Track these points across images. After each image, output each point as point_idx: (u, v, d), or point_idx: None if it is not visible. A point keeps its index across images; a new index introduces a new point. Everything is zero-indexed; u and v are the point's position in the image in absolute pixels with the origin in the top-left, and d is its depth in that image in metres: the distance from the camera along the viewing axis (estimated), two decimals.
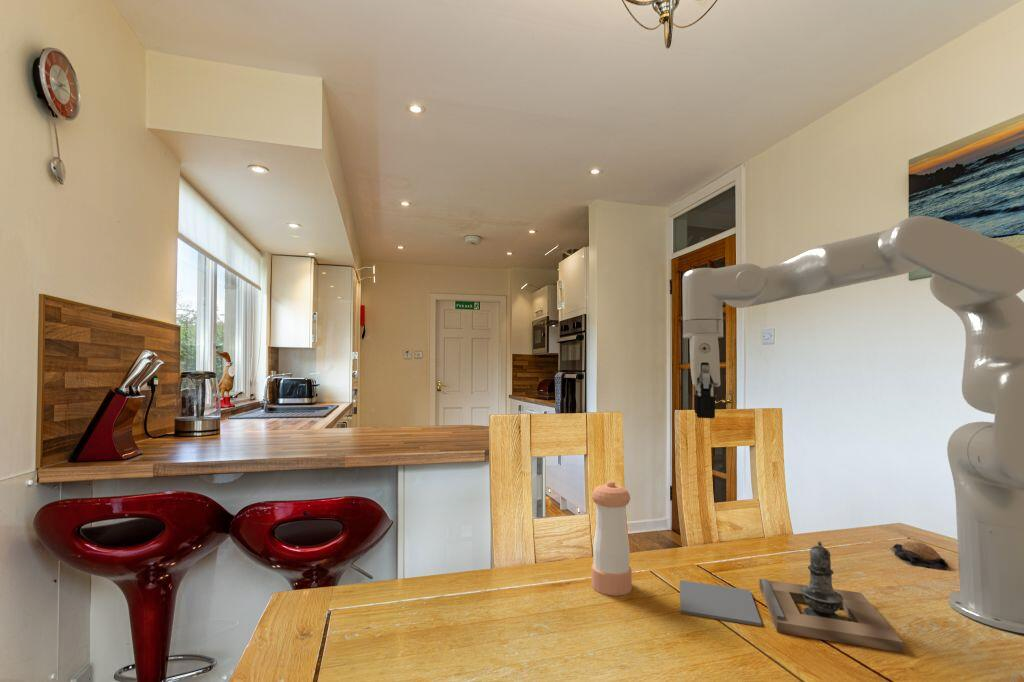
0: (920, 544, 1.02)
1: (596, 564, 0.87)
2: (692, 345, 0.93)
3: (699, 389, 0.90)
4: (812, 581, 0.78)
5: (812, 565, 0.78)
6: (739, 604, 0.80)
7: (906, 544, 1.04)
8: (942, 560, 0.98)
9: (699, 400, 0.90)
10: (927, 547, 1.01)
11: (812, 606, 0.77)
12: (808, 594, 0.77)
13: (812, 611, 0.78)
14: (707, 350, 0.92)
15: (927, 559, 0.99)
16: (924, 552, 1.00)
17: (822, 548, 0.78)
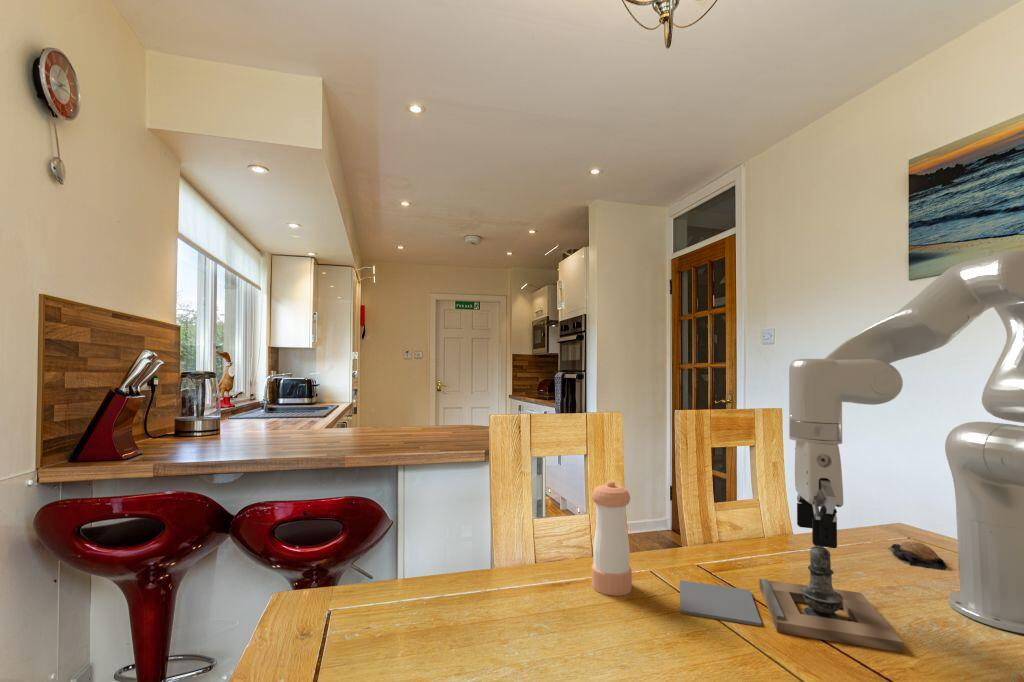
0: (918, 544, 1.02)
1: (596, 564, 0.87)
2: (806, 454, 0.77)
3: (817, 511, 0.74)
4: (812, 581, 0.78)
5: (812, 565, 0.78)
6: (739, 604, 0.80)
7: (904, 544, 1.04)
8: (940, 560, 0.98)
9: (816, 524, 0.74)
10: (925, 547, 1.01)
11: (812, 606, 0.77)
12: (808, 594, 0.77)
13: (812, 611, 0.78)
14: (826, 462, 0.76)
15: (925, 559, 0.99)
16: (922, 552, 1.00)
17: (822, 548, 0.78)
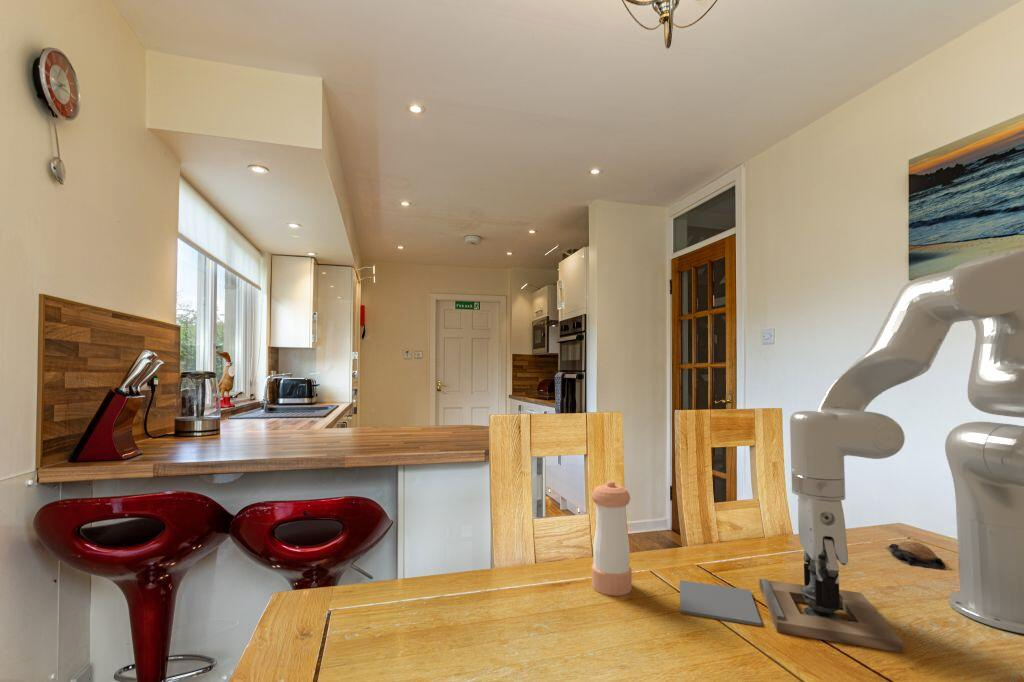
0: (916, 544, 1.02)
1: (596, 564, 0.87)
2: (809, 510, 0.76)
3: (820, 574, 0.75)
4: (812, 581, 0.78)
5: (812, 565, 0.78)
6: (739, 604, 0.80)
7: (902, 544, 1.04)
8: (939, 560, 0.98)
9: (819, 585, 0.75)
10: (923, 547, 1.01)
11: (812, 606, 0.77)
12: (807, 594, 0.77)
13: (812, 610, 0.78)
14: (829, 519, 0.75)
15: (924, 559, 0.99)
16: (921, 551, 1.00)
17: None
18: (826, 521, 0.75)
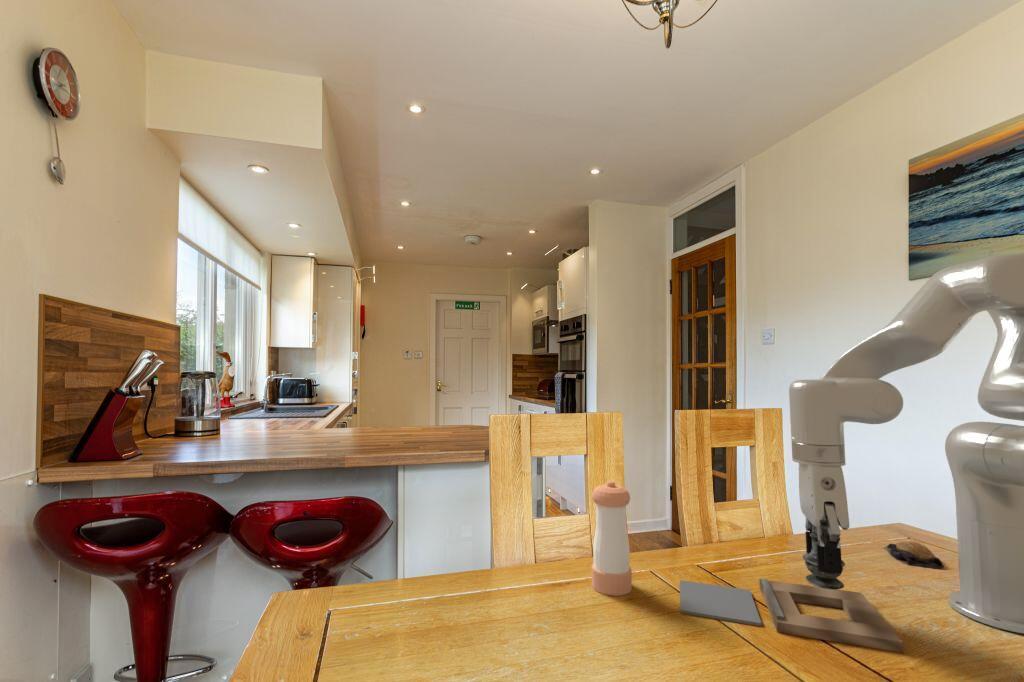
0: (914, 543, 1.03)
1: (596, 564, 0.87)
2: (810, 476, 0.76)
3: (822, 539, 0.75)
4: (814, 548, 0.78)
5: (813, 532, 0.79)
6: (739, 604, 0.80)
7: (901, 544, 1.04)
8: (937, 559, 0.98)
9: (821, 550, 0.75)
10: (921, 546, 1.01)
11: (814, 572, 0.77)
12: (810, 560, 0.78)
13: (814, 577, 0.79)
14: (830, 484, 0.75)
15: (923, 559, 0.99)
16: (919, 551, 1.00)
17: None
18: (827, 487, 0.76)
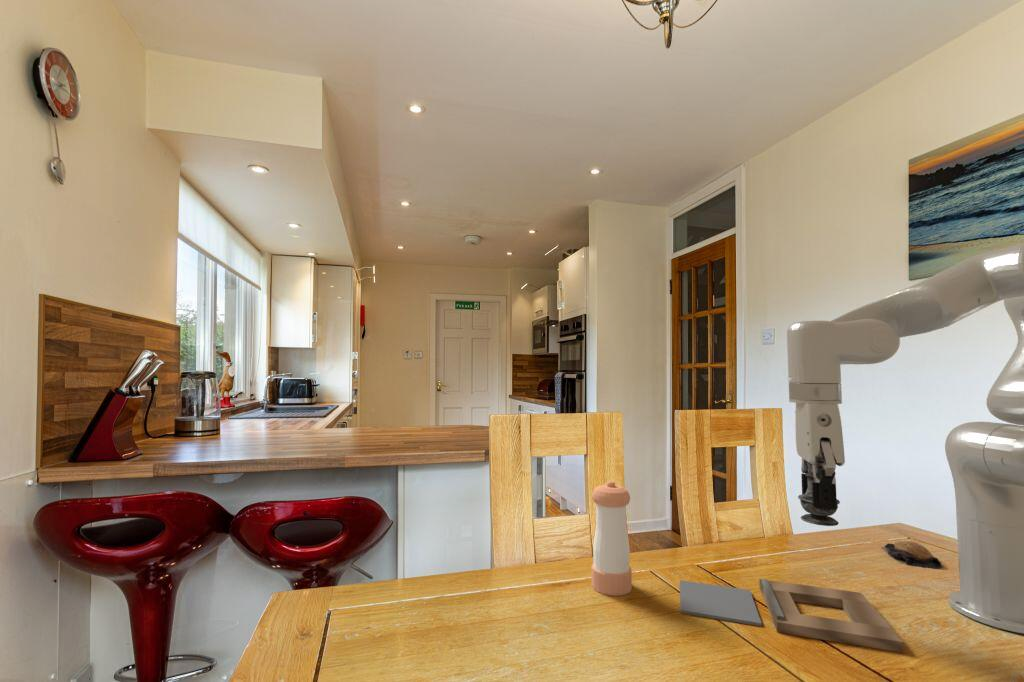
0: (912, 543, 1.03)
1: (596, 564, 0.87)
2: (806, 414, 0.77)
3: (817, 475, 0.75)
4: (809, 487, 0.79)
5: (809, 471, 0.79)
6: (739, 604, 0.80)
7: (899, 543, 1.04)
8: (936, 559, 0.98)
9: (816, 487, 0.76)
10: (920, 546, 1.02)
11: (809, 510, 0.78)
12: (805, 499, 0.78)
13: (809, 516, 0.79)
14: (826, 421, 0.76)
15: (921, 558, 0.99)
16: (918, 551, 1.00)
17: None
18: (823, 424, 0.76)
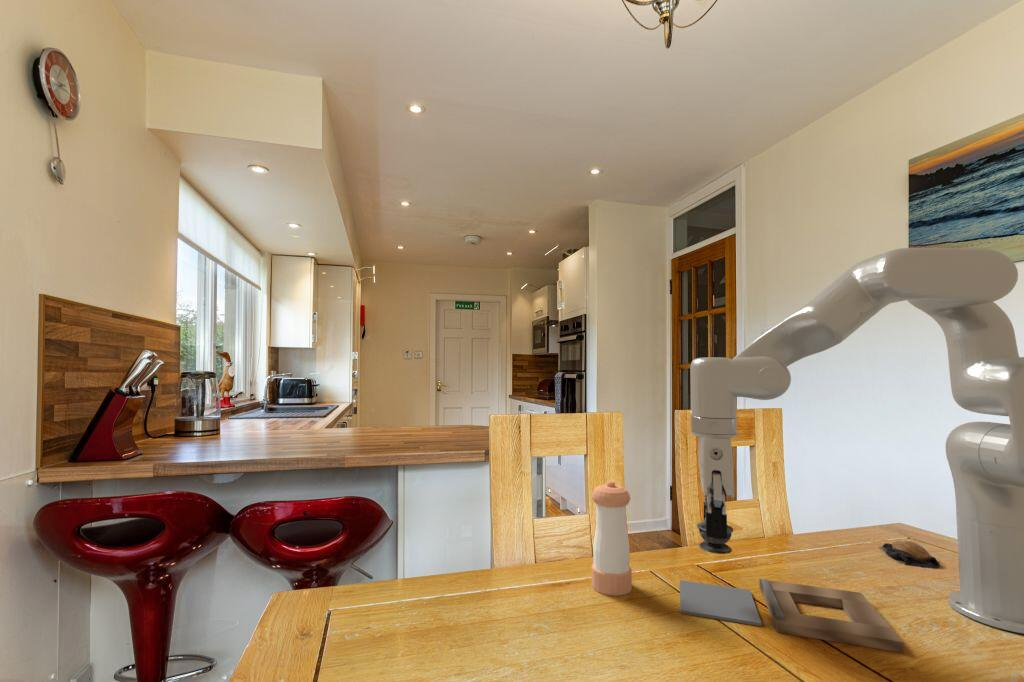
0: (910, 543, 1.03)
1: (596, 564, 0.87)
2: (702, 447, 0.81)
3: (709, 506, 0.79)
4: None
5: (706, 501, 0.83)
6: (739, 604, 0.80)
7: (896, 543, 1.04)
8: (934, 559, 0.99)
9: (709, 517, 0.80)
10: (917, 546, 1.02)
11: (705, 538, 0.82)
12: (701, 527, 0.82)
13: (706, 543, 0.83)
14: (719, 455, 0.80)
15: (919, 558, 1.00)
16: (916, 551, 1.00)
17: None
18: (716, 457, 0.80)
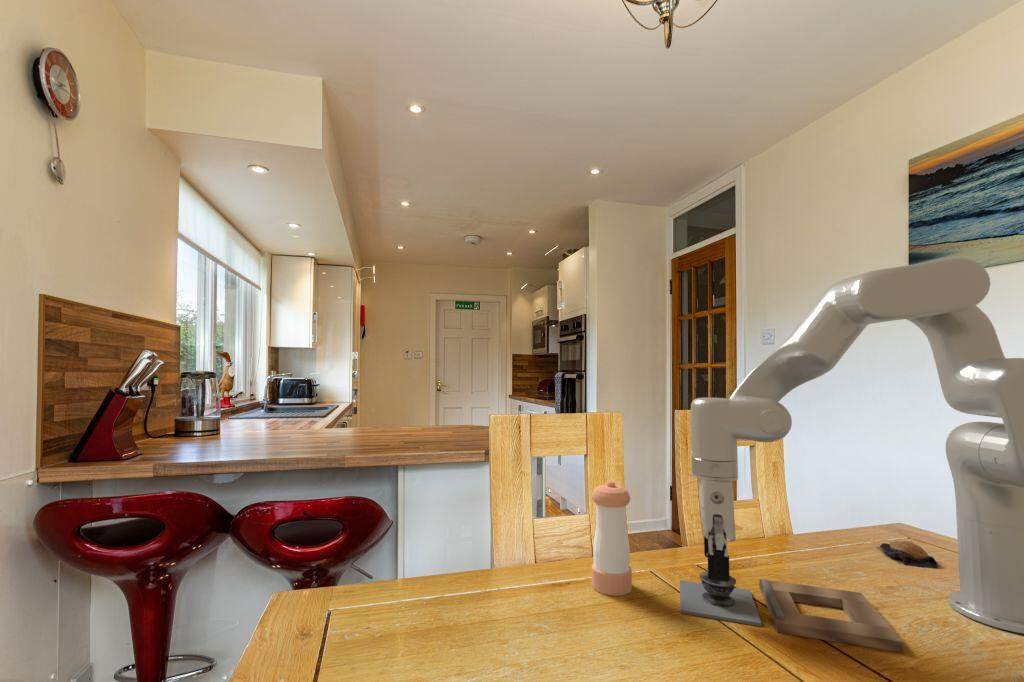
0: (908, 543, 1.03)
1: (596, 564, 0.87)
2: (702, 490, 0.80)
3: (711, 546, 0.78)
4: None
5: None
6: (739, 604, 0.80)
7: (894, 543, 1.04)
8: (932, 558, 0.99)
9: (711, 558, 0.78)
10: (915, 545, 1.02)
11: (707, 590, 0.81)
12: (704, 578, 0.82)
13: (709, 595, 0.83)
14: (720, 498, 0.79)
15: (917, 558, 1.00)
16: (914, 551, 1.01)
17: None
18: (717, 500, 0.80)
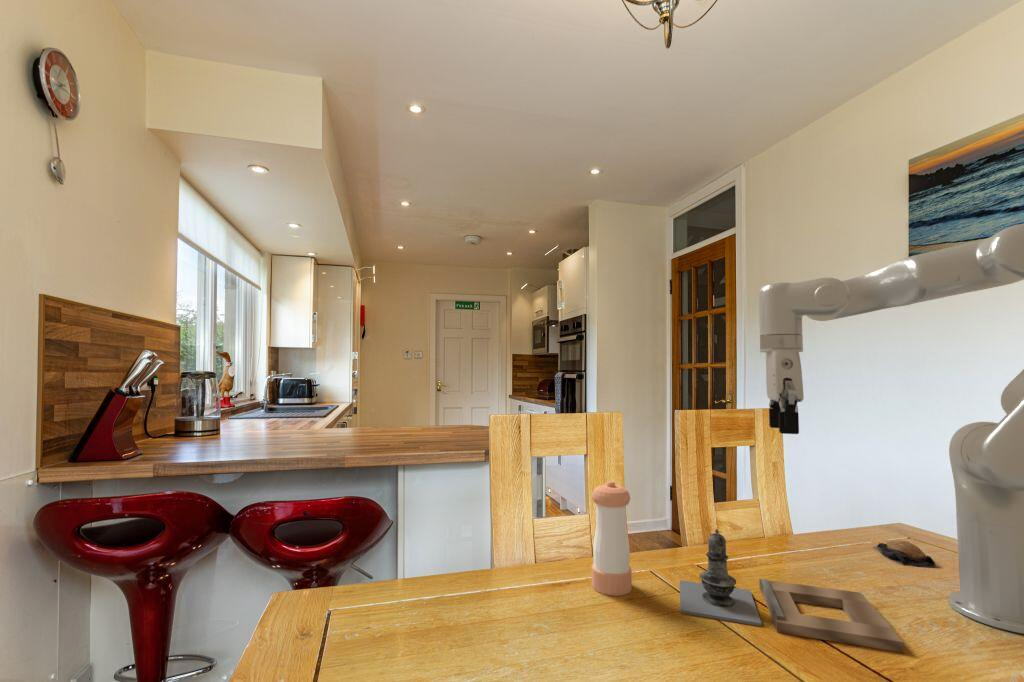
0: (905, 542, 1.03)
1: (596, 564, 0.87)
2: (773, 360, 0.92)
3: (782, 405, 0.90)
4: (709, 567, 0.82)
5: (709, 552, 0.82)
6: (739, 604, 0.80)
7: (891, 543, 1.05)
8: (929, 558, 0.99)
9: (782, 416, 0.90)
10: (912, 545, 1.02)
11: (707, 590, 0.81)
12: (704, 578, 0.82)
13: (709, 595, 0.83)
14: (789, 365, 0.91)
15: (915, 558, 1.00)
16: (911, 550, 1.01)
17: (718, 535, 0.82)
18: (786, 367, 0.92)
